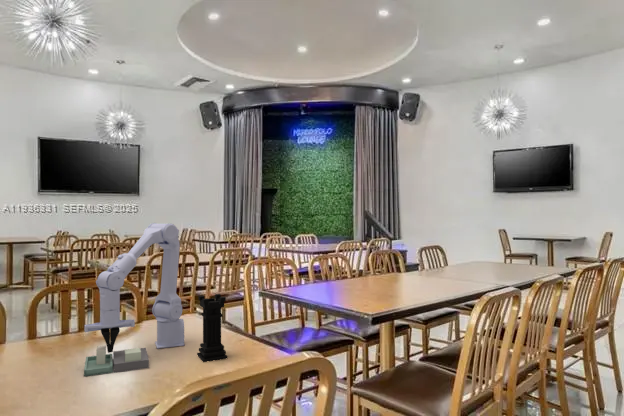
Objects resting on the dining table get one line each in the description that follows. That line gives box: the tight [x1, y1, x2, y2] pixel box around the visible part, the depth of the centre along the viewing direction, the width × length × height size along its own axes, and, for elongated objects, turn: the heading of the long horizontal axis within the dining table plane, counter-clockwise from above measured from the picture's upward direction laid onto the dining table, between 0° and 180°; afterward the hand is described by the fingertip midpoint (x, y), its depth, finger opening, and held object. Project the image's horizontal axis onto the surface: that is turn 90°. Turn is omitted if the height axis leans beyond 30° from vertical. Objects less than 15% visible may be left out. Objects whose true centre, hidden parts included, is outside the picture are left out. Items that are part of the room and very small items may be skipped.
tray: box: [83, 353, 114, 377], centre depth 142 cm, size 8×14×2 cm, turn 24°
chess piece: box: [196, 293, 228, 363], centre depth 152 cm, size 8×8×20 cm
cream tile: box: [95, 345, 107, 365], centre depth 145 cm, size 4×4×2 cm
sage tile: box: [124, 347, 141, 362], centre depth 142 cm, size 4×4×2 cm
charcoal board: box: [112, 347, 150, 374], centre depth 145 cm, size 10×14×2 cm
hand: (110, 351), depth 145 cm, fingers closed
